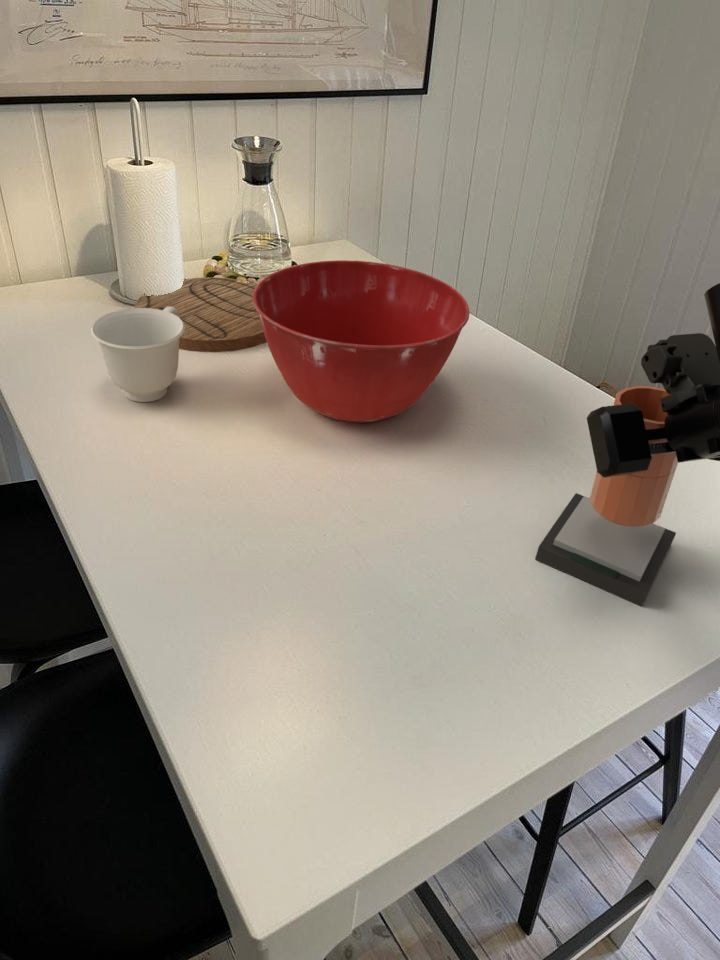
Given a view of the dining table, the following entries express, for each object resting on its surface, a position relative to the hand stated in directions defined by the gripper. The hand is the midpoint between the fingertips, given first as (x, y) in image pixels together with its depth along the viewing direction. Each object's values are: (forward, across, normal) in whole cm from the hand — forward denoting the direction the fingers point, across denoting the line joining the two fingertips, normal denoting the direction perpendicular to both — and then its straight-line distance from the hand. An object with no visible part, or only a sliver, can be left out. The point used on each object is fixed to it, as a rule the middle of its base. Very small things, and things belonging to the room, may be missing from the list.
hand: (631, 449), depth 78 cm
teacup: (+41, +46, -22) cm, 65 cm away
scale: (+8, 0, +10) cm, 13 cm away
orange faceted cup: (+4, 0, +6) cm, 7 cm away
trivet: (+56, +34, -38) cm, 76 cm away
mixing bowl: (+35, +18, -16) cm, 43 cm away
